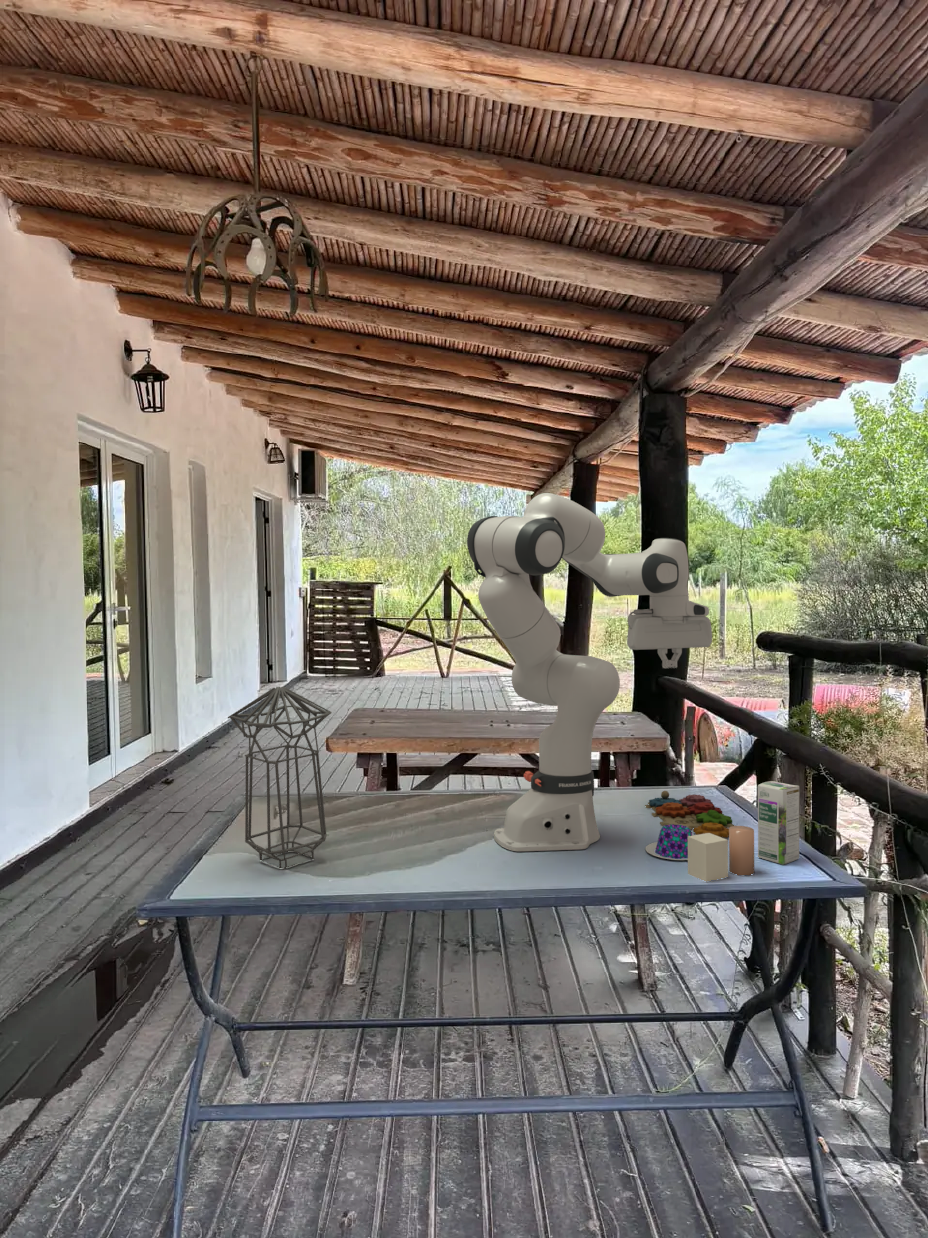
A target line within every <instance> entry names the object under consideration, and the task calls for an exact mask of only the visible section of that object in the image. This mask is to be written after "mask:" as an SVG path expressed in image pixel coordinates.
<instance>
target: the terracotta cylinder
mask: <svg viewBox="0 0 928 1238" xmlns="http://www.w3.org/2000/svg"><path fill="white" fill-rule="evenodd" d="M728 829H729V836H728V872H729V871H730V872H732V873H734V874H737V875H736V876H739V875H751V874H753V873H754V874H755V829H754V828H753V827H750V826H746V825H734V826H732V827H729V828H728ZM730 872H729V873H730ZM732 873H731V874H732ZM734 874H733V875H734ZM754 874H753V875H754ZM751 876H752V875H751Z"/></svg>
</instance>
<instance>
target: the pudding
mask: <svg viewBox="0 0 928 1238" xmlns="http://www.w3.org/2000/svg"><path fill="white" fill-rule="evenodd" d="M658 834H659V835H658V838H657V841H656V842H655V841H654V842H652V843H649V844H648V845H646V846H645V851H646V853H648V854H650V855H651V856H654V857H658V858H660V859H667V860H671V861H688V836H693V831H692V830H690V829H689V828H688V827H687V826H683V825H674V824H670V825H665V826H662V827H661V828H660V830H659V833H658Z"/></svg>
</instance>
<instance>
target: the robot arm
mask: <svg viewBox="0 0 928 1238" xmlns="http://www.w3.org/2000/svg"><path fill="white" fill-rule="evenodd" d="M605 541H606V528H605V525H604V522H603V521H602V520H601V518H599V517H598V515H597V514H595V513H594V512H592V511H591V510H589V509H588V508H586V507H584V506H582V505H581V504H579V503H577V502H575V501H574V500H571V499H569V498H567V497H564V496H561V495H559V494H555V493H551V492H544V493H539V494H538V495H536V496H534V497H532V499H531V500H530V501H529V502H528V503H527V504H526V507H525V510H524V511H523V516H522V517H521V516H514V515H504V516H503V515H502V516H498V515H491V516H486V517H482V518H481V519H478V520H476V521H475V522H474V523H472V525H471V526H470V528H469V530H468V532H467V537H466V546H467V550H468V551H467V552H468V555H469V557H470V559H471V561H472V563H473V568H474V570H475V572H476V573H477V574H478V575H479V576H481V577H482V578H484V580H482V582H481V584H480V585H479V588H478V593H477V594H478V601H479V603H480V606H481V609H482V610H483V613H484V614H485V616H486V618H487V620H488V622H489V624H490V625H491V627H492V629H493V630H494V631H495V632H496V634H497V636H498V637H499V638H500V640H501V641H502V642H503V644H504V645H505V647H506V648H507V649H508V651H509V652H510V654H511V656H512V657H513V658H514V660H515V663H514V666H513V669H512V671H511V685H512V687H513V690H514V691H515V693H516V695H517V696H518V697H520V698H522V699H525V700H526V701H529V702H532V703H535V704H539V705H546V706H557V712H556V717H555V719H554V722H553V723H551V724H550V725H548V726H546V727H545V728H543V730H542V731H541V733H540V734H539V738H538V754H539V755H538V758H539V759H538V766H539V769H538V770H537V771H535V773H533V772H532V771H530V770H526V771H525V772H524V773H523V779H524V780H525V781H527V782H529V783H530V789H529V790H528V791H526V792H525V793H524V794H523V795H521V796H520V797H519V798H518V799H517V800H516V801H515V802H513V803H512V804H510V805H509V806H508V808H507V810H506V811H505V812H506V813H505V817H504V822H503V827H501V828H500V827H499V828H497V829H495V830H494V833H493V838H494V841H495V842H496V843H497V844H498V845H499V846H500V847H502V848H504V849H507V850H509V851H512V852H537V851H538V852H539V851H540V852H541V851H544V852H545V851H566V850H568V851H571V850H572V851H573V850H585V849H587V848H589V846H590V845H592V844H593V843H596V842H597V841H599V840H600V839H601V834H600V832H599V828H598V825H597V818H596V813H595V806H594V798H593V797H594V796H595V795H594V794H595V777H594V770H592V751H593V750H592V745H593V736H594V734H593V733H594V730H595V727H596V724H597V722H598V720H599V717H600V716H601V714H602V713H603V712H604V710H606V709H607V708H608V707H609V706H611V705H612V704H613V703H614V701H616V699H617V697H618V694H619V691H620V686H621V683H620V681H621V679H620V675H619V672H618V669H617V668H616V667H615V665H614V664H613V663H612V662H610V661H608V660H604V659H601V658H598V657H596V656H592V655H577V654H575V655H574V654H565V653H562V652H560V651H558V650H557V649H558V647H559V644H560V642H561V629H560V626H559V624H558V623H557V622H556V620H555V619H554V617H553V616H552V614H551V613H550V611H549V609H548V608H547V607H546V606H545V604H544V602H543V601H542V599H541V598H540V596H538V595H537V592H536V591H535V590H534V589H533V586H532V584H531V580H530V576H540V575H546V574H549V573H551V572H553V571H554V570H555V569H556V568H557V567H558V566H559V565H560V563H561V561H562V560H563V561H564V562H565V563H567V564H568V565H569V566H571V567H572V568H574V569H575V570H577V571H578V572H579V573H581V574H583V576H586V577H587V578H588V579H589V580H590V581H591V582H592V583H593V584H594V586H595V587H596V588H597V590H598V591H599V592H600V593H601V594H602V595H604V596H605V597H607V598H608V597H609V598H614V597H622V596H649V608H647V609H645V608H644V609H634V610H633V611H631V612H630V613H629V614H628V616H627V626H628V629H627V637H626V638H627V639H626V646H627V647H628V648H629V649H630V650H633V651H639V650H657V654H658V657H659V658H660V659H661V661H662V662H661V666H662V669H677V668H678V661H679V659H680V657H681V656H682V654H683V649H689V648H690V649H693V648H695V649H696V648H709V647H711V645H712V643H713V630H712V624H711V623H712V622H711V620H710V618H709V617H708V616H709V614H710V608H709V607H708V606H706V605H704V604H700V603H697V602H694V601H691V600H690V594H689V591H688V581H689V577H690V576H689V558H688V552H687V551H688V550H687V546H686V544H685V543H684V542H683V541H682V540H681V539H677V538H674V537H673V538H671V537H670V538H669V537H660V538H655V539H654V540H652V542H651V545H650V546H649V547H648V548H647V549H645V550H643V551H641V552H633V553H632V552H631V553H602V552H601V551H602V548H604V544H605ZM668 649H671V652H672V654H673V655H672V656H671V659H668V657H667V654H668Z"/></svg>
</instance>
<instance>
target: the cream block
mask: <svg viewBox="0 0 928 1238" xmlns="http://www.w3.org/2000/svg"><path fill="white" fill-rule="evenodd" d="M687 859H688V860H687V874H688V875H689V876H692V877H694V878H696V879H698V878H699V879H698V880H700V879H701V881H702V880H704V881H706V882H705V883H708V882H707V881H711V880H716V881H718V880H717V879H721V878H725V877H728V878H729V839H727V838H725V837H719V836H716V835H714V834H711V833H705V834H699V835H695V834H692V836H688V858H687ZM721 880H722V879H721ZM704 881H703V882H704ZM711 882H712V881H711Z"/></svg>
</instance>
